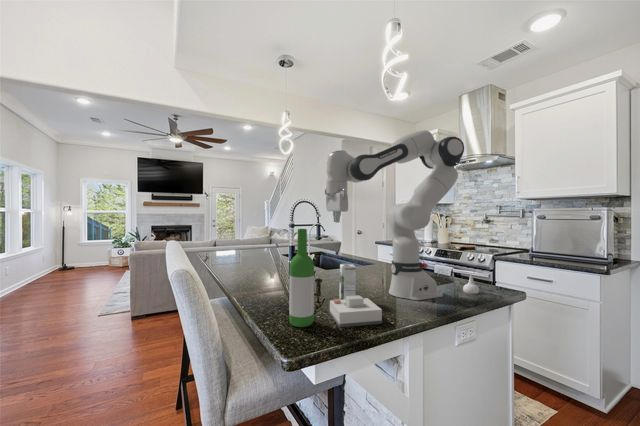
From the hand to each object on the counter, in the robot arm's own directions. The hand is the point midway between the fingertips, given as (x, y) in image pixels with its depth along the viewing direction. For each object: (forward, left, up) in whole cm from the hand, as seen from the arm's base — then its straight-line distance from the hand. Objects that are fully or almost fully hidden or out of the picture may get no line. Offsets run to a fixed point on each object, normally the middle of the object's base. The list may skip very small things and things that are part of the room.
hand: (336, 222), depth 120 cm
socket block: (+1, +26, -31) cm, 40 cm away
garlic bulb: (-60, +7, -31) cm, 68 cm away
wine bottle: (+19, +27, -31) cm, 45 cm away
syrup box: (-2, +9, -31) cm, 32 cm away
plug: (+1, +26, -30) cm, 40 cm away
